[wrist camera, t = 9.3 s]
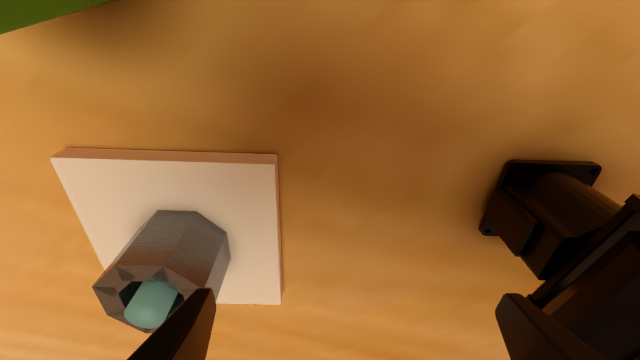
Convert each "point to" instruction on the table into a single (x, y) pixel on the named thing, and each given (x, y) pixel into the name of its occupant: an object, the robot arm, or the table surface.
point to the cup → (38, 11)
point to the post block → (183, 195)
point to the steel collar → (166, 261)
